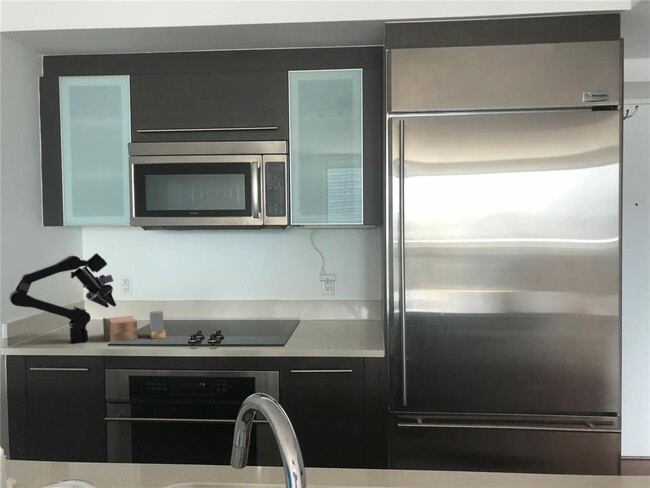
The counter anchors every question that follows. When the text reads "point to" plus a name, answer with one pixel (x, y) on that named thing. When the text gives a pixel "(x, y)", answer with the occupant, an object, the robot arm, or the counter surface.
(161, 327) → the granite block
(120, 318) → the terracotta flap
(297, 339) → the counter surface
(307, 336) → the counter surface
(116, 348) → the counter surface
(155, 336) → the oak plinth
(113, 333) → the walnut frame
